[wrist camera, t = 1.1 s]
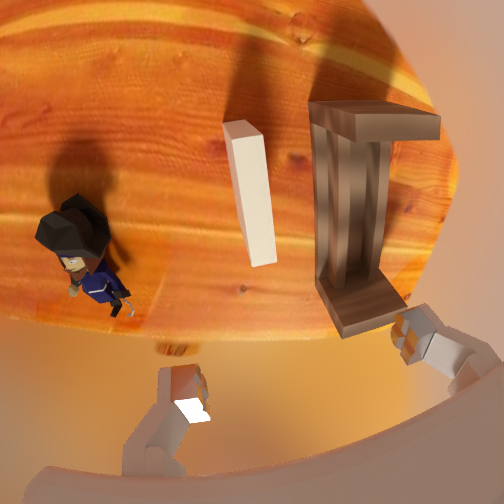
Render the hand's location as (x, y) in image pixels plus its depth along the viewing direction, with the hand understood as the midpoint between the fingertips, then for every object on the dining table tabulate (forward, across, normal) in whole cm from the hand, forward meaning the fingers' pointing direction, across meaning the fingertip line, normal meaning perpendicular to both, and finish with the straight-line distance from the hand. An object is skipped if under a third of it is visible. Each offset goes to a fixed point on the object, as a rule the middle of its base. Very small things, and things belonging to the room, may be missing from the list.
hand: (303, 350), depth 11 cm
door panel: (+20, 0, -1) cm, 20 cm away
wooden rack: (+20, -11, +4) cm, 23 cm away
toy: (+20, +17, +4) cm, 27 cm away
